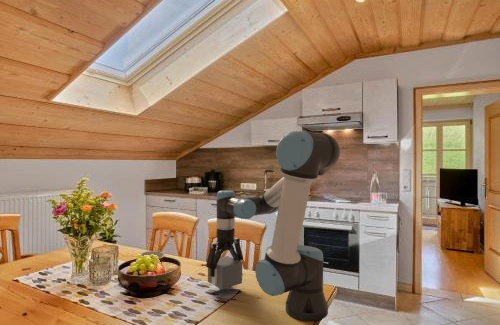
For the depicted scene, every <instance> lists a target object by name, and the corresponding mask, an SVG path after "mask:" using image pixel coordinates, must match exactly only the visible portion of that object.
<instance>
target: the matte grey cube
mask: <svg viewBox="0 0 500 325" xmlns="http://www.w3.org/2000/svg"><path fill="white" fill-rule="evenodd" d="M216 269H217V285H214V284H212V277H211V276H210V269H209V268H207V283H209V284H210V285H211V284H212V285H213V286H214V287H217V289H219V288H220V289H222V290H221V291H224V290H223V289H225V290H227V289H229V288H231V287H234V286H237V285H240V284H243V261H242V260H241V261H238V260H236V259H233V257H232V256H231V257H230V256H228V255H226V256H222V257H220V259H219V261H218V263H217V266H216ZM226 288H227V289H226ZM220 289H219V290H220Z"/></svg>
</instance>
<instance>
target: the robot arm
mask: <svg viewBox="0 0 500 325" xmlns="http://www.w3.org/2000/svg"><path fill="white" fill-rule="evenodd" d="M275 150H276V151H275V158H276V159H277V164H278V166H280V173H281V175H282V176H283V177H281V178H280V179H279V180H278V181H276V183H274V185H272V186H271V187H270V188H269V189H267V190H266V191H265V192H263V194H262V195H260V196H252V197H251V196H250V197H248V196H247V197H236V193H235V191H234V190H219V191H217V193H216V200H215V201H216V242H210V245H209V253H208V256H207V260H206V264H205V268H207V269H208V268H209V269H210V276H211V277H212V285H213V284H214V285H213V286H215V285H217V269H216V266H217V263H218V261H219V259H220V258H222V257H221V256H222V254H223V253H224V252H226V251H229V253H230V255H231V258H233V259H236V260H238V261H241V262H242V261H244V256H243V252H242V248H241V239H240V238H238V237H235V230H236V229H235V226H236V225H235V224H236V222H235V221H236V219H235V218H239V219H242V220H251V219H252V218H253V217H255V216H262V215H269V214H270V215H271V214H273V213H277V214H276V221H275V224H274V231H273V237H272V241H271V242H272V243H271V245H270V246H268V247H266V249H265V254H264V258H263V259H261V260H259V261H258V262H257V263H256V265H255V272H254V273H255V278H256V281H257V283H258V285H259V286H260V289H261V290H262V291H263V292H264V293H265V294H266V295H268V296H271V297H275V296H280V295H284V294H286V293H288V295H287V298H286V300H285V312H286V313H287V314H288V315H289V316H290V317H291V318H294V319H296V320H299V321H306V322H316V321H320V320H323V319H325V318H327V317H328V314H329V306H328V303H327V300H326V296H325V293H324V253H323V251H322V250H321V249H320V248H317V247H314V246H310V245H303V244H302V245H301V244H300V240H301V235H302V232H303V224H304V221H305V215H306V209H307V205H308V201H309V195H310V191H311V186H312V183H313V182H315V181H316V180H317V179H318V177H321V176H323V175H324V174H326V173H327V172H328V171H330V170H331V169H332V168H333V167H335V165H336V164H337V162H338V161H339V159H340V155H341V148H340V145H339V143H338V141H337V140H336V139H335V137H333V136H332V135H330V134H329V133H323V132H314V131H305V130H297V131H294V130H293V131H290V132H287V133H286V134H284V136H282V137H281V139H280V140H279V142H278V143H277V146H276V149H275Z"/></svg>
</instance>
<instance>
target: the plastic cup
mask: <svg viewBox="0 0 500 325" xmlns="http://www.w3.org/2000/svg"><path fill="white" fill-rule="evenodd" d="M151 254H154V255H157V256H158V257H159V260H160V262H161V265H162V264H163V263H162V262H163V259H164V257H165V255H166V254H165V253H164V252H162V251H158V250H150V251H149V250H148V251H144V252H141V253H140V254H139V257H140V256H144V255H151Z"/></svg>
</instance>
